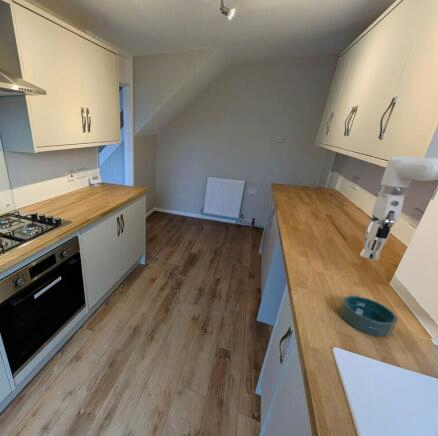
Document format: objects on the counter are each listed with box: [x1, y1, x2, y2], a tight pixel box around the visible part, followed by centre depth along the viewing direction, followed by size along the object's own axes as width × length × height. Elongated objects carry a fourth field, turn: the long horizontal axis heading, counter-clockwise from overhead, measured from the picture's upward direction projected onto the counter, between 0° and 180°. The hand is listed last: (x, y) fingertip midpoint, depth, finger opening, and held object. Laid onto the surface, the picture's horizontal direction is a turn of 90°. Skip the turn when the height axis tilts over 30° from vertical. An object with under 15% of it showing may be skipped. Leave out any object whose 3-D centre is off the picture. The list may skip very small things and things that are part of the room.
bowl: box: [339, 295, 398, 337], centre depth 81 cm, size 14×14×6 cm
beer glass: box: [359, 219, 393, 261], centre depth 95 cm, size 7×7×15 cm
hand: (376, 233), depth 94 cm, fingers closed on beer glass, 7 cm apart
